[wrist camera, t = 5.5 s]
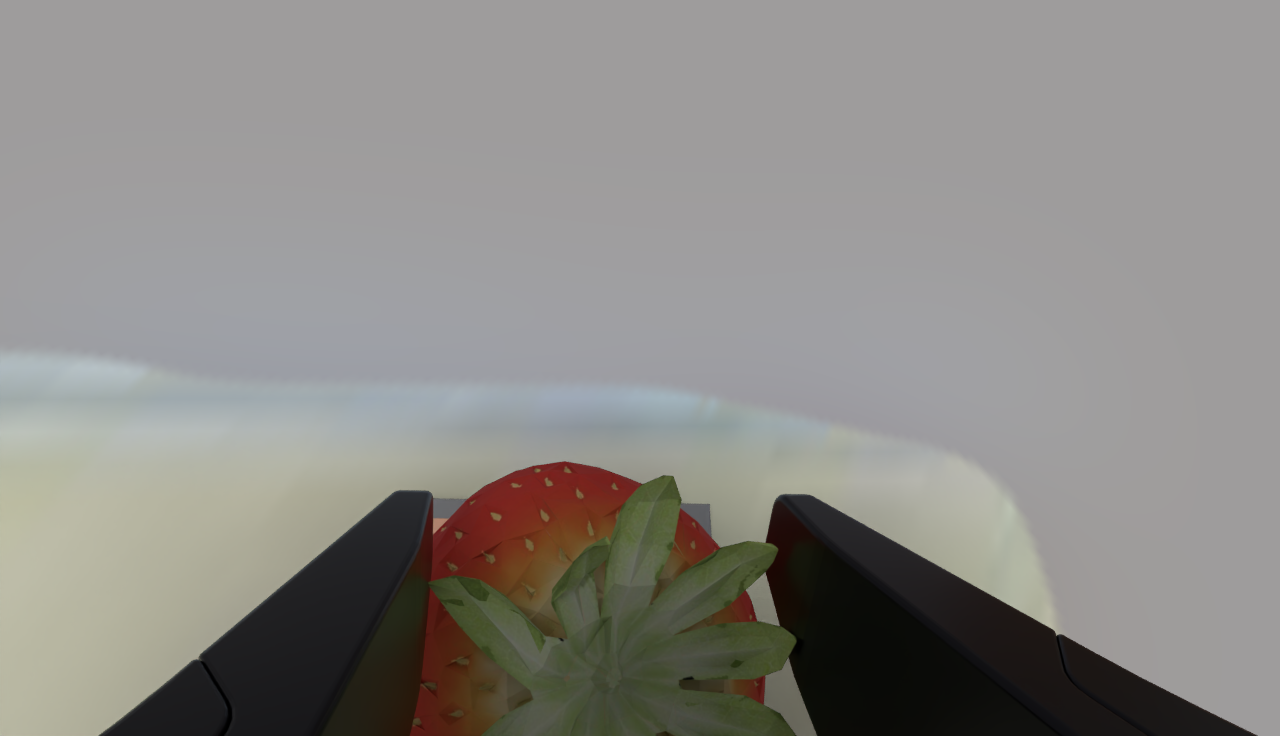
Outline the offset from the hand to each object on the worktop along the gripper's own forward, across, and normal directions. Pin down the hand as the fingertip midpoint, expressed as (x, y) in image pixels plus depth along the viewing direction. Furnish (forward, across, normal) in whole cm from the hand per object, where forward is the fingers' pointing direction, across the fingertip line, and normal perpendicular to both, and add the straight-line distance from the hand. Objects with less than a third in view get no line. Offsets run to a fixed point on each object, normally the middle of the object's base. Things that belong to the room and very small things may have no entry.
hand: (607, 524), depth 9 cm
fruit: (+4, 0, +6) cm, 7 cm away
